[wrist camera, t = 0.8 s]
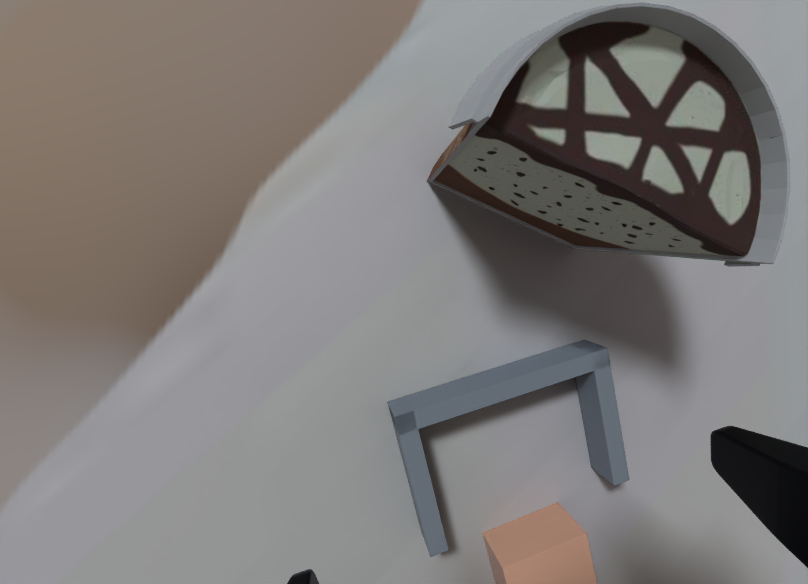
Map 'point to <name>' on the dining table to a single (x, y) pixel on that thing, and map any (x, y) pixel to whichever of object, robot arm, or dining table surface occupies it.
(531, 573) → the salmon pink box
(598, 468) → the frame
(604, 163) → the food container
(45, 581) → the dining table surface
